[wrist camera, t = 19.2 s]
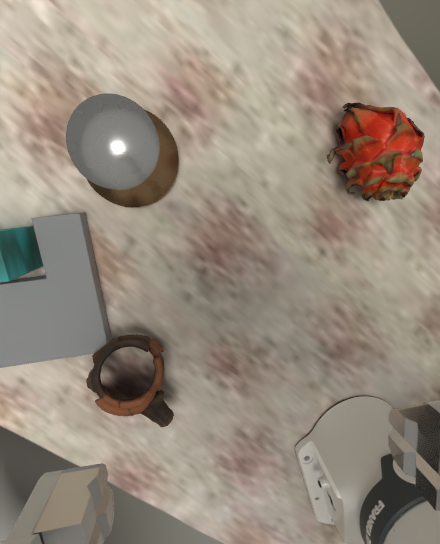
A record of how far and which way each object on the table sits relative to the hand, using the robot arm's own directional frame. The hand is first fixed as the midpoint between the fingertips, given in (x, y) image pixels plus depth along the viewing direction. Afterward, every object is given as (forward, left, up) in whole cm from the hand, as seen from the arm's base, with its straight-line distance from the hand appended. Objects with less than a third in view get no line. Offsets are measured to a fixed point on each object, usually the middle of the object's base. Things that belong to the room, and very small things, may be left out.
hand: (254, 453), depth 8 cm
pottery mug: (-13, +9, -29) cm, 33 cm away
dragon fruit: (+10, -20, -29) cm, 37 cm away
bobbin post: (+12, +6, -29) cm, 32 cm away
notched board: (-1, +20, -29) cm, 35 cm away
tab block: (+4, +20, -29) cm, 35 cm away
